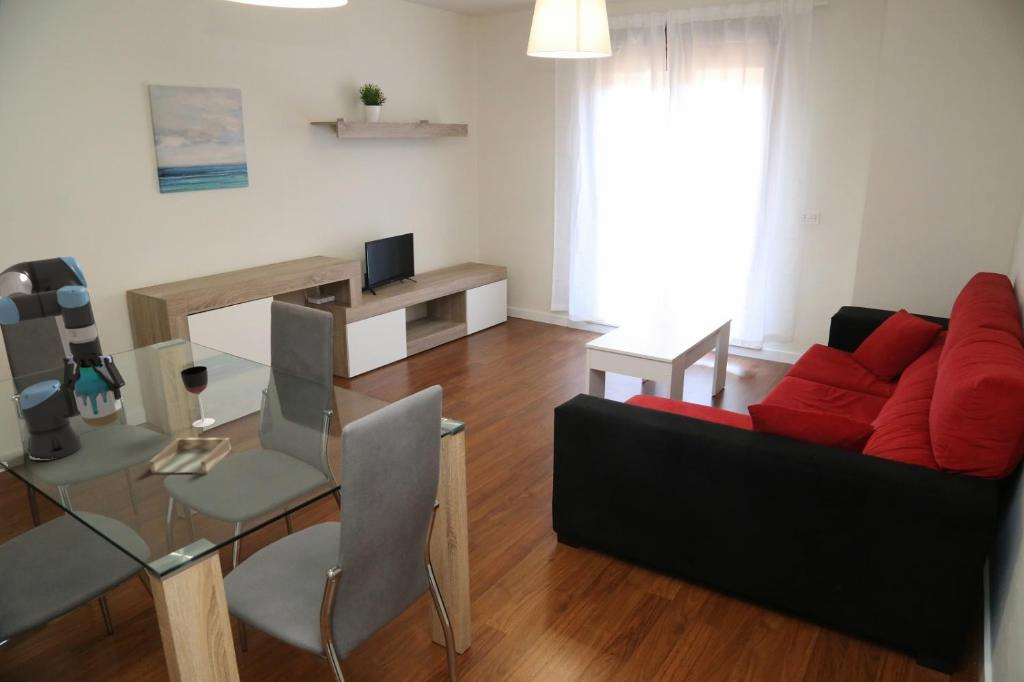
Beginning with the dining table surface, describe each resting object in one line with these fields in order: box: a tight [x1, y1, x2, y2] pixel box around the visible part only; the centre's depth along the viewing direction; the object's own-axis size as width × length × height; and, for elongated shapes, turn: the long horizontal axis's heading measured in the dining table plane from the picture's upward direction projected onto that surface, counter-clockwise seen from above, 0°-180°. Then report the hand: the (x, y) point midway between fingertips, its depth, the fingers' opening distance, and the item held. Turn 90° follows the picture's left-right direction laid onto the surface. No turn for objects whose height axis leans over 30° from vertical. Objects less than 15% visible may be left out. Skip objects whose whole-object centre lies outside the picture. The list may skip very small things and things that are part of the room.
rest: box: [148, 437, 232, 475], centre depth 221 cm, size 18×16×4 cm
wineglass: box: [180, 365, 216, 428], centre depth 246 cm, size 8×9×20 cm
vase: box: [75, 366, 121, 427], centre depth 208 cm, size 11×11×19 cm
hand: (100, 409), depth 210 cm, fingers closed on vase, 10 cm apart
